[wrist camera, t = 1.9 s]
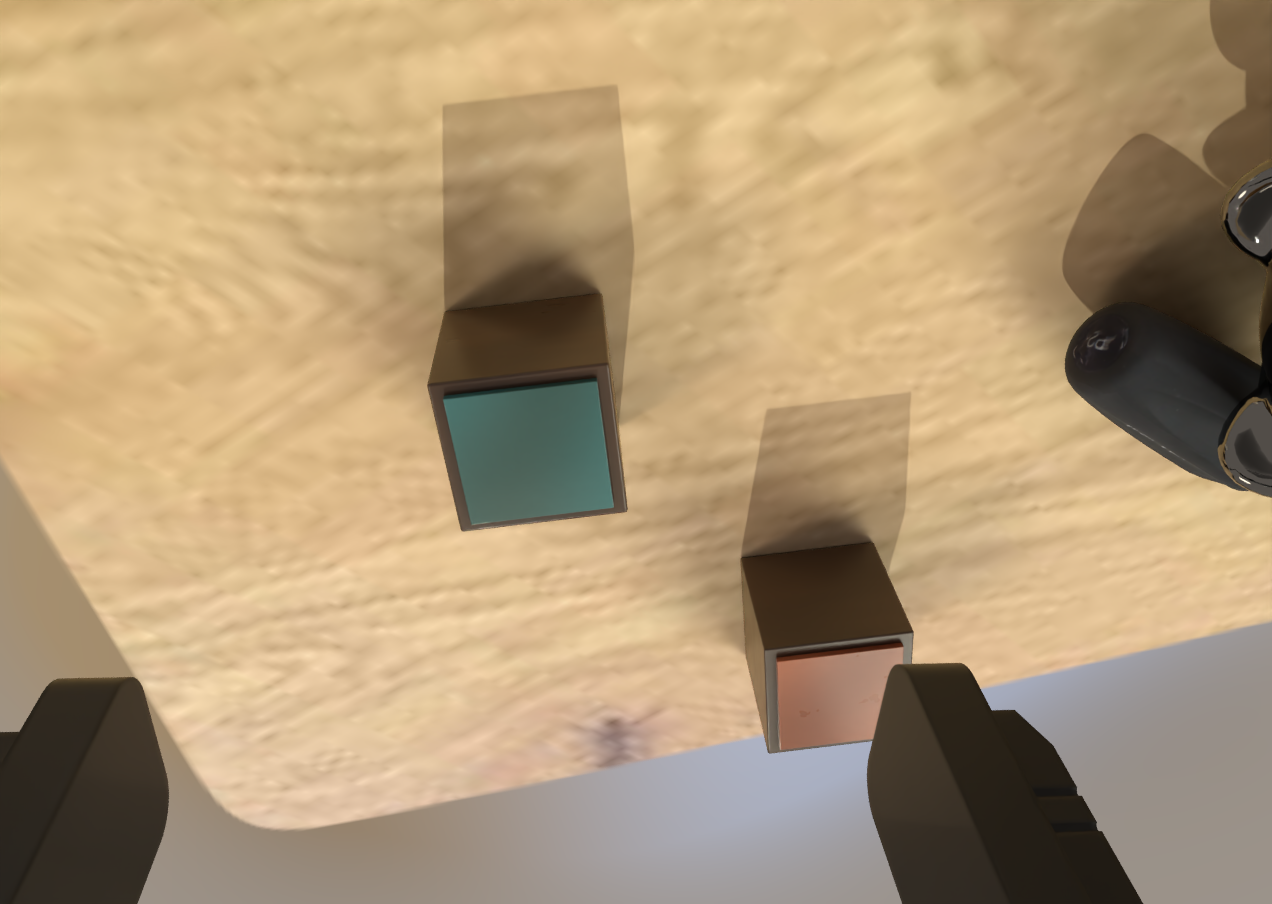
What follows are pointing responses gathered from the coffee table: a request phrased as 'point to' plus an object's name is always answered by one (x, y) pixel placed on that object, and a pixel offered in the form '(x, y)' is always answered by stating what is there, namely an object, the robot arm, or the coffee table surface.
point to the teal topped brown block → (528, 412)
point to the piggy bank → (1267, 417)
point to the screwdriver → (1161, 382)
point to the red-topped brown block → (821, 643)
